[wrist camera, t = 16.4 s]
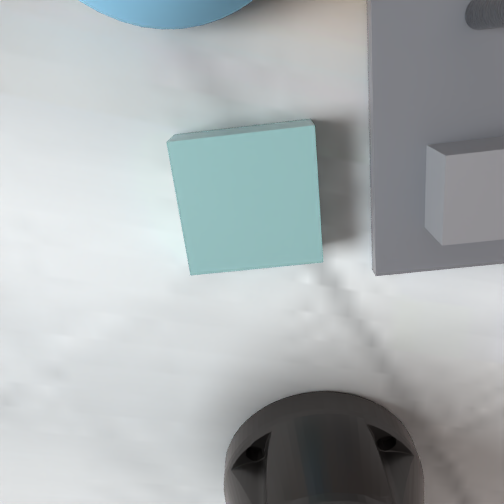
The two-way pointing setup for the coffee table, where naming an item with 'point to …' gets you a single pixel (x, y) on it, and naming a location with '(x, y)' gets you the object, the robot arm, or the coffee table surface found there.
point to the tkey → (485, 14)
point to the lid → (248, 196)
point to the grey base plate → (434, 137)
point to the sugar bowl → (166, 11)
